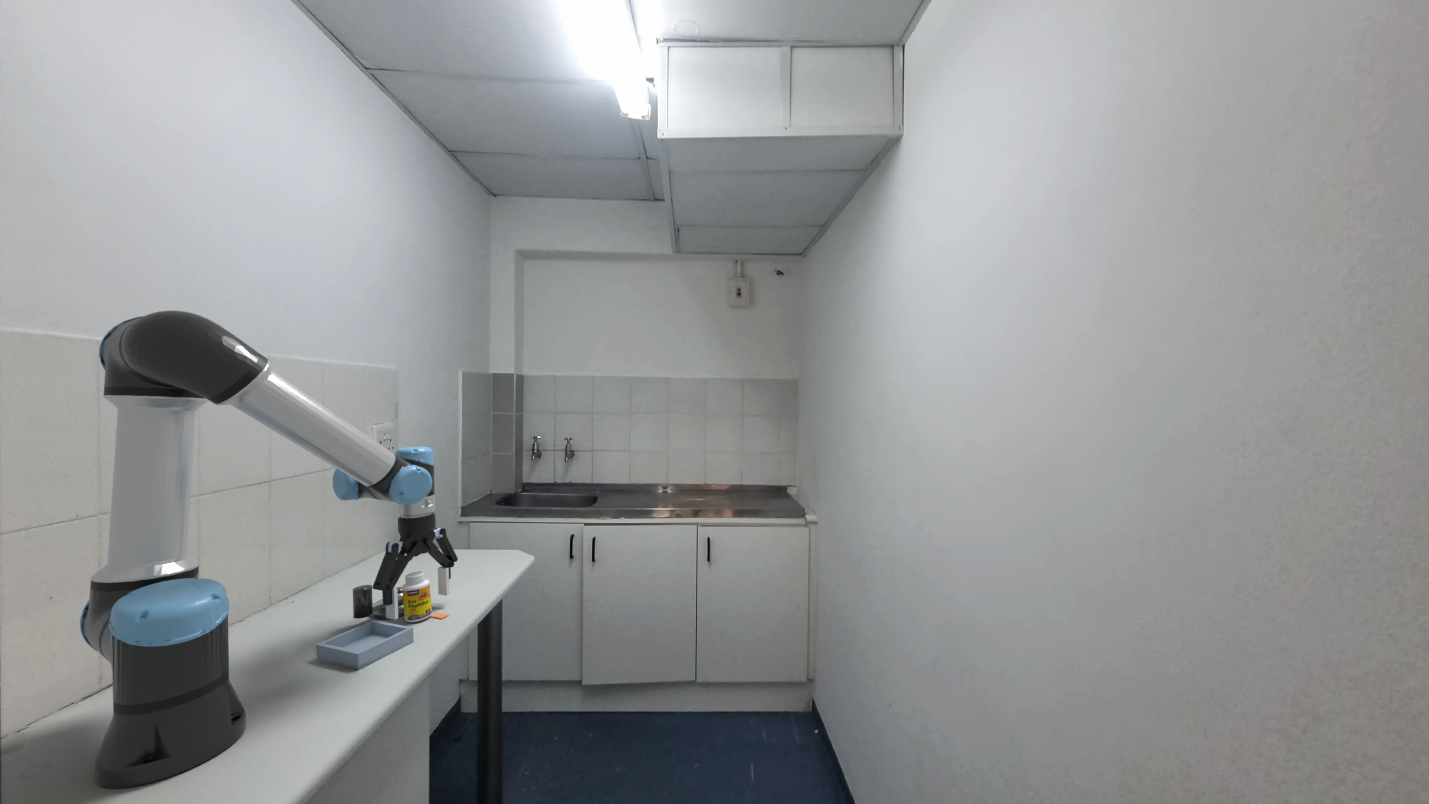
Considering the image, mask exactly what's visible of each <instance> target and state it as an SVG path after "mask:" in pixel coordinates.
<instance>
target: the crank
mask: <svg viewBox="0 0 1429 804" xmlns="http://www.w3.org/2000/svg"><path fill="white" fill-rule="evenodd" d="M396 588H397V593H398V605H399V604H403V595H402V586H398V587H396ZM380 600H381V599H380ZM385 607H386V605H384V604H383V600H381V601H379V600H378V602H377V601H376V602H374V603H373V585H372V584H364V585H359V586H356V587H354V588H353V589H352V612H353V613H352V614H353V616H352V618H353V619H356V620H357V619H358V620H360V619H366V618H368V617H371V616H373V612H375V611H378V610H380V609H382V608H385Z"/></svg>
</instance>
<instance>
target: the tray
mask: <svg viewBox="0 0 1429 804" xmlns="http://www.w3.org/2000/svg"><path fill="white" fill-rule="evenodd" d="M412 643H414V627H412V626H406V625H401V624H398V623H390V622H386V621H380V620H377V619H376V620H375V619H373V620H371V621H368V622H366V623H363V624H361V625H359V626H356V627H355V628H352V629H349V630H347V631H344V632H342V633H340V634H338V635H335V636H332V637H331V638H329V639H326V640H324V641H321V642H319V643H317V644H315V647H316V649H315V651H316V652H315V653H316V656H315V657H316V661H320V662H324V663H328V664H332V665H336V666H340V667H344V668H349V669H353V670H357V671H359V670H362V669H363V668H366V667H367V666H369V665H371V664H374V663H375V662H377V661H379V660H381V659H383V658H384V657H387V656H389V655H391V654H393V653H395V652H397V651H398V650H400V649H403V648H404V647H406V646H408V645H410V644H412Z"/></svg>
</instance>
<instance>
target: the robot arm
mask: <svg viewBox="0 0 1429 804" xmlns="http://www.w3.org/2000/svg"><path fill="white" fill-rule="evenodd" d="M98 357H99V362H100V364H101V366H102V368H103V370H104V383H103V398H104V399H105V400H106V401H107V402H109V403H111V404H112V405H113V406H114V407H115V408H116V409H117V413H116V414H117V417H116V431H115V432H116V433H115V443H114V444H115V445H114V457H113V459H114V461H113V473H112V475H113V477H112V488H111V489H112V490H111V504H110V516H109V517H110V518H109V519H110V520H109V534H108V547H107V549H108V550H107V560H106V561H107V562H106V564H105V565H104V566H103V567H101V568H100V569H99V570H97V571H96V572H95V573H94V574H92V575H91V577H90V586H89V587H90V588H89V598H88V601H87V602H86V604H85V606H84V607H83V609H82V612H81V615H80V619H79V630H80V633H81V637H82V638H83V641H85V642H86V644H87V645H88V646H89V647H90V648H91V649H92V650H94V651H95V652H98V653H99V655H101V656H102V657H103V658H104V659H105V660H106V661H107V662H108V663H110V667H111V675H112V677H111V679H112V680H111V681H112V705H113V706H112V707H113V709H112V710H113V714H112V718H111V721H110V723H109V726H108V728H107V731H106V732H105V735H104V738H103V740H102V742H101V745H100V747H99V749H98V753H97V755H96V758H95V759H94V761H95V762H94V781H95V783H96V784H97V785H99V786H100V787H104V788H110V789H115V788H116V789H118V788H119V789H121V788H130V787H136V786H141V785H145V784H149V783H152V782H153V783H154V782H156V781H160V780H164V779H167V778H169V777H173V776H176V775H177V774H180V773H182V772H184V771H188V770H190V769H192V768H194V767H196V766H198V765H200V764H203V763H204V762H206V761H208V760H210V759H212V758H214V757H216V756H217V755H220V753H222V752H224V751H225V750H227V749H228V748H229V747H231V746H232V745H233V744H234V743H236V742H237V741H238V740H239V739H240V738H241V737H242V735H243V734H244V733H245V730H246V728H247V718H246V716H247V715H246V709H245V707H244V706H243V703H242V702H241V699H240V698H239V696H238V694H237V692H236V690H235V689H234V687H233V685H232V683H231V681H230V657H229V656H230V652H229V649H230V648H229V645H230V644H229V610H230V601H229V599H228V593H227V589H226V587H225V586H224V584H223V583H221V582H219V581H217V580H214V579H211V578H205V577H203V578H199V571H200V570H199V569H200V568H199V567H200V562H199V561H198V560H196V559H194V558H193V557H191V556H190V555H189V554H188V543H189V526H190V509H191V495H192V494H191V491H192V477H193V476H192V475H193V461H194V444H195V442H194V441H195V425H196V413H197V412H196V411H197V410H198V409H199V408H200V407H202V406H204V405H205V404H207V403H208V402H209V401H210V402H211V403H213V404H215V406H226V405H227V406H232V407H233V408H235V409H237V410H238V411H240V412H242V413H244V414H245V415H247V416H249V418H250V417H251V418H252V419H253V420H255V421H256V422H259V423H260V424H262V425H264V427H266V428H268V429H270V430H272V431H273V432H275V433H277V434H278V435H279V436H282V437H283V438H285V439H287V440H288V441H290V442H292V443H294V444H295V445H297V446H298V447H300V448H301V449H304V450H305V451H306V452H308V453H310V454H312V455H314V456H315V457H316V458H318V459H320V460H321V461H323V462H325V463H326V464H328V465H330V466H332V467H333V468H334V469H335V470H334V472H333V474H332V488H333V489H332V490H333V491H334V495H335V496H336V497H337V498H338V500H341V501H352V500H354V501H356V500H357V501H358V500H359V499H360V500H361V499H365V498H367V499H373V500H379V501H385V502H391V503H396V507H397V508H396V510H397V512H396V514H397V515H398V516H399V517H398V518H397V532H398V535H399V541H395V542H390V541H388V542H386V544H385V553H384V556H383V559H382V561H381V564H380V565H379V569H378V571H377V574H376V576H375V579H374V583H373V585H372V590H375V591H381V592H382V599H383V604H384V605H386V618H389V619H388V620H398V619H399V618H398V593H397V587H396V585H397V583H398V581H399V580H400V578H401V577H402V574H403V572H404V571H405V569H406V567H407V566H408V564H409V562H411V561H412V560H413V558H414V557H415V558H416V557H418V556H420V555H423V554H428V555H429V556H431V558H432V559H434V560H435V562H437V563H438V564H439V565H440V566H439V567H437V588H438V589H437V590H438V591H437V592H438V594H437V595H440V596H445V597H446V596H447V597H448V596H450V580H451V577H452V574H451V573H452V571H451V569H452V568H454V567H455V563H457V562H458V560H459V557H458V555H457V554H456V551H455V550H454V548H453V547H452V543H451V542H450V541H449V539H448V536H447V530H446V528H445V527H436V526H437V525H436V522H437V520H436V513H435V512H434V511H435V510H436V496H435V495H436V494H435V467H436V466H435V461H434V451H433V449H432V448H430V447H428V446H408V447H400V448H398V449H396V451H395V454H394V453H393V452H391V451H390V450H389V449H387V448H386V447H384V446H383V445H381V444H380V443H379V442H378V441H375V440H374V439H372V438H371V437H370V436H368V435H367V434H366V433H364V432H362V431H361V430H360V429H358V428H357V427H356V426H353V425H352V424H351V423H349V422H348V421H346V420H345V419H343V418H342V417H340V416H339V415H337V413H335V412H333V411H332V410H331V409H329V408H327V407H326V406H324V405H323V404H321V403H320V402H319V401H318V400H316V399H315V398H313V397H311V396H310V395H309V394H307V393H305V392H304V391H303V390H301V389H300V388H299V387H297V386H296V385H294V384H292V383H291V382H290V381H288V380H287V379H286V378H284V377H282V376H281V375H279V374H278V373H276V372H275V371H274V370H272V367H271V361H270V359H268V358H267V357H266V356H264V355H263V354H261V353H259V352H258V351H257V350H256V349H254V348H253V347H252V346H250V345H249V344H247V343H246V342H244V341H243V340H242V339H240V338H239V337H237V335H235V334H233V333H232V332H230V330H227V329H225V328H224V327H223V326H222V325H220V324H218V323H216V322H214V320H211V319H210V318H208V317H204V316H202V315H199V314H197V313H193V312H188V311H183V310H162V311H161V310H160V311H156V312H151V313H148V314H146V315H142V316H136V317H135V316H134V317H132V318H129V319H125V320H124V321H122V322H120V323H118V324H117V325H115V326H113V327H111V329H110V330H109V331H107V333H106V334H105V335H103V338H102V339H101V342H100V344H99V348H98ZM434 540H436V543H437V545H438V546H439V547H438V546H437V545H436V544H435V543H434Z"/></svg>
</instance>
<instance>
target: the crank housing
mask: <svg viewBox="0 0 1429 804" xmlns="http://www.w3.org/2000/svg"><path fill="white" fill-rule="evenodd" d="M381 600H383V598H382V599H379V600H378V601H381ZM378 601H376V602H378ZM372 618H374V619H376V620H383V621H384V620H385V621H386V620H390V619H389V618H386V607H385V608H382V609H380V610H378V611H375V612H373V614H372ZM401 618H404V607H403V604H399V605H398V618H397V619H401Z"/></svg>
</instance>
